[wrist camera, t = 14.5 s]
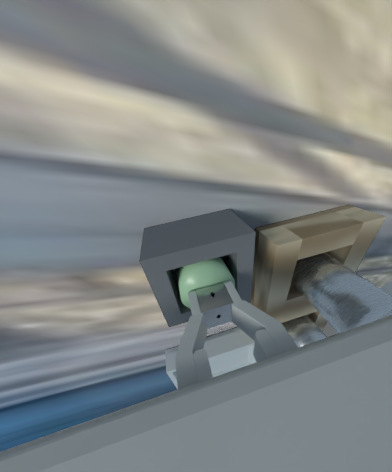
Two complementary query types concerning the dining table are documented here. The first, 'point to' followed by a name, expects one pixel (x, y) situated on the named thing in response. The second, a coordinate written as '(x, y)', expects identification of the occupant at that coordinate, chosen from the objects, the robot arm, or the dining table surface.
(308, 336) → the silver domed cylinder
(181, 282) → the button
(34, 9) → the dining table surface
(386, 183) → the dining table surface
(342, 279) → the grey metal cylinder
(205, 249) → the button housing
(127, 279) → the dining table surface
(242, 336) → the white square tray
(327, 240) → the frame
